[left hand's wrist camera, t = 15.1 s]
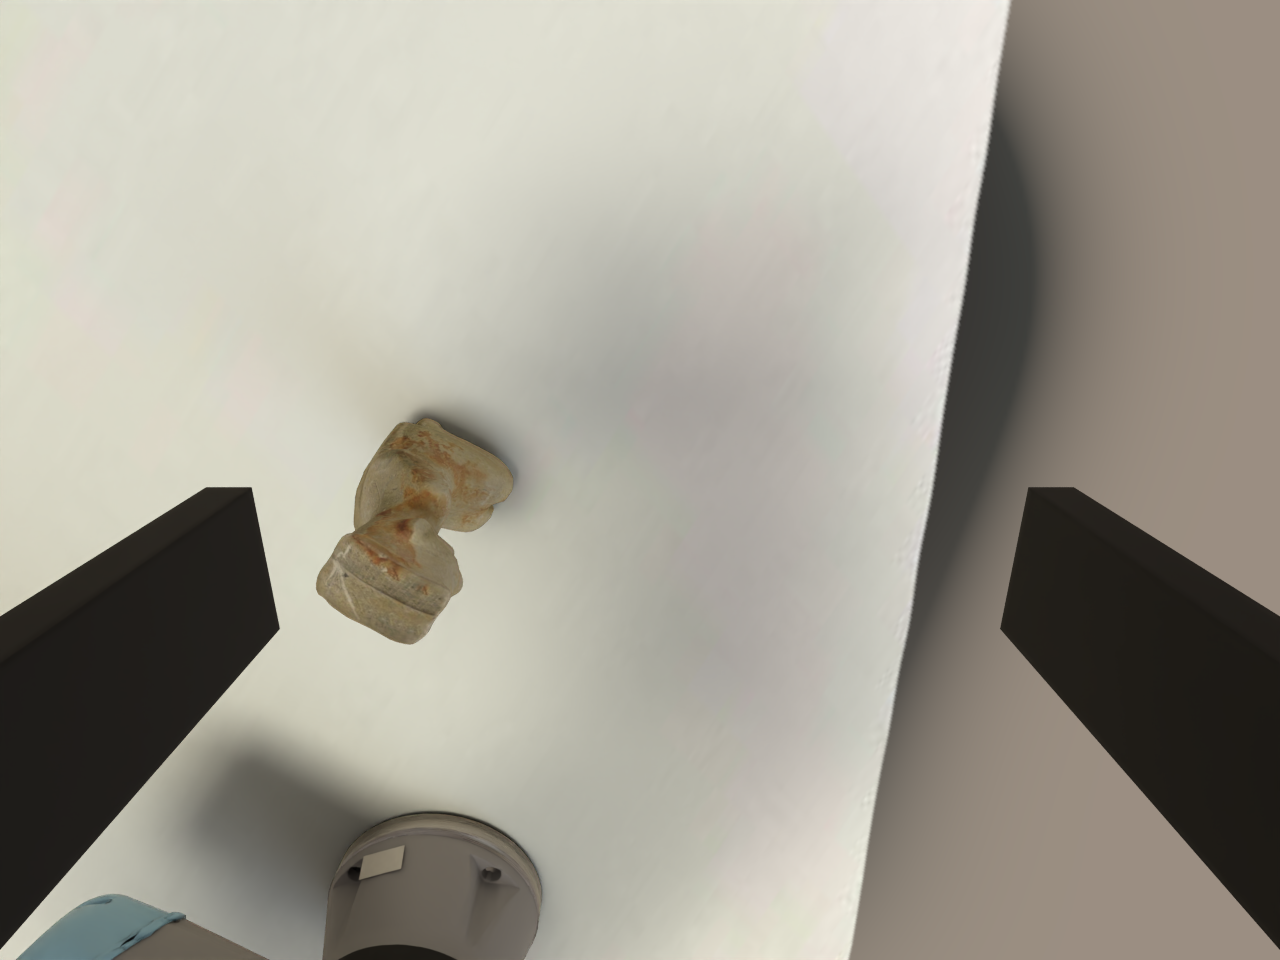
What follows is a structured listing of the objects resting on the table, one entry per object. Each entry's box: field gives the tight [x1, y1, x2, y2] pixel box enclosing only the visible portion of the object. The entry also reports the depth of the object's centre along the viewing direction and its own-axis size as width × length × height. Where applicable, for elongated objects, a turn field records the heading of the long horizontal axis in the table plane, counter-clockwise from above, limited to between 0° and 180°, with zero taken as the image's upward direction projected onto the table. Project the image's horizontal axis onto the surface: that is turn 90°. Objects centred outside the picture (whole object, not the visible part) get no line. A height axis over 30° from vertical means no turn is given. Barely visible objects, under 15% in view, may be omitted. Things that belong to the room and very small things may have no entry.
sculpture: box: [316, 418, 513, 644], centre depth 35 cm, size 6×7×15 cm
